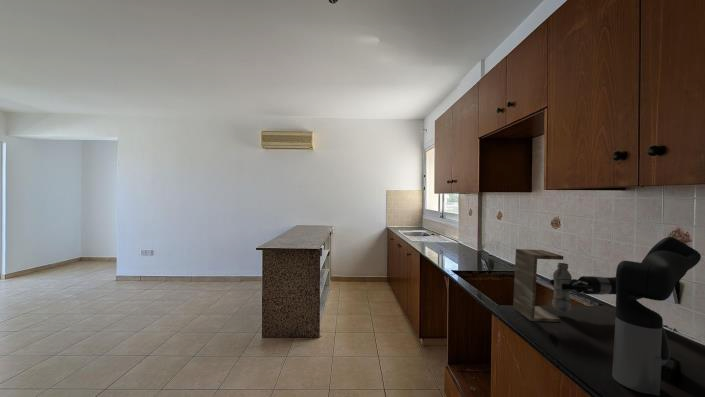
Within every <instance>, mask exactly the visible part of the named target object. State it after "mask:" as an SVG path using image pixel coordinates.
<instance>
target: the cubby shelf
mask: <svg viewBox="0 0 705 397" xmlns="http://www.w3.org/2000/svg"><path fill="white" fill-rule="evenodd" d="M538 260H559V261H561V260H564V256H563V255H560V254H558V253H554V252H550V251H547V250H544V249H543V250H542V249H524V248H523V249H522V248H521V249H520V248H515V259H514V261H515V263H514V282H513V300H512V301H513V302H512V309H513V310H514V311H516V312H518V313H519V314H520V315H522V316H523V317H525V318H526V319H527V320H529V321H531V322H554V323H555V322H558V323H559V322H561V318H560V317H558V316H556V315H555V314H552V313H551V312H549V311H547V310H545V309H544V308H542V307H541V306H536V292H537V291H536V290H537V273H538V272H537V270H538Z"/></svg>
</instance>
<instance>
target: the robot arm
mask: <svg viewBox="0 0 705 397" xmlns="http://www.w3.org/2000/svg"><path fill="white" fill-rule="evenodd" d="M701 259H702V255H701V254H700V252H699V251H697V250H696V249H695V248H693V247H691V245H689V244H688V245H687V244H686V243H684V242H682V241H681V240H679V239H678V238H676V237H673V236H667V237H665V238H662V239H661V240H659V241H658V242H657V243H655V244H654V245H653V246H652V247H651V249H650V250H649V251H648V252H647V254H646V255H645V257H644V258H643V259H642V261H641V262H637V261H632V260H622V261H620V262H619V263H618V265H617V267H616V269H615V270H616V271H615V276H613V277H604V276H594V275H593V276H590V275H588V276H587V275H585V276H584V275H583V276H582V275H581V276H580V277H579V278H578V279H577V278H571V283H570V284H562V289H563V290H570V291H573V292H577V293H582V294H585V295H598V296H599V295H602V296H603V295H615V319H614V320H615V322H614V323H615V324H614V337H613V338H614V340H613V356H612V369H611V372H612V374H611V375H612V376H611V377H612V378H613V380H614V381H616V382H617V383H618V384H620V385H622V386H623V387H626V388H627V389H630V390H632V391H635V392H639V393H642V394H647V395H655V396H657V397H660V395H661V379H662V378H661V377H662V366H661V365H662V360H661V342H662V326H663V322H664V321H663V320H664V319H663V316H662V315H661V314H659V313H658V312H656V311H655V310H652V309H651V308H649V307H647V306H645V305H644V304H642V303H641V302H639V300H641V299H647V300H651V301H659V302H660V301H661V302H662V301H665V300H668V299H669V298H670V296H672V293H673V292H674V290H675V287H676V284H677V283H678V282H679V281H680V280H682V278H683V277H684V276H685V275H686V274H687V272H688V271H689V270H691V269H693V268H695V266H696V265H698V264H699V262H700V261H701ZM550 285H553V286H554V279H552V278H551V280H550Z"/></svg>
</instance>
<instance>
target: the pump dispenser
mask: <svg viewBox="0 0 705 397" xmlns="http://www.w3.org/2000/svg"><path fill="white" fill-rule="evenodd" d="M670 358H671V349H670V344H669V340H668V336H667V332H666V331H665V327H664V326H663V325H662V342H661V360H662V365H661V367H662V366H664V365H666V364H667V362H668V361H669V360H670Z"/></svg>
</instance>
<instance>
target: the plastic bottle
mask: <svg viewBox="0 0 705 397" xmlns="http://www.w3.org/2000/svg"><path fill="white" fill-rule="evenodd" d="M556 267H557V268H556V270H554V272H553V273H552V277H553V279H554V285H553V297H552V300H551V304H552V307H553V308H554V309H555V310H559V311H562V312H563V311H564V312H568V311H570V310H571V308H572V304H571V303H572V302H571V296H570V291H571V290H563V289H562V284H570V283H571V279H573V278H572V275H571V273H570V272H569V270H568V269H569V263H564V262H558V263H557V265H556Z"/></svg>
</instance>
